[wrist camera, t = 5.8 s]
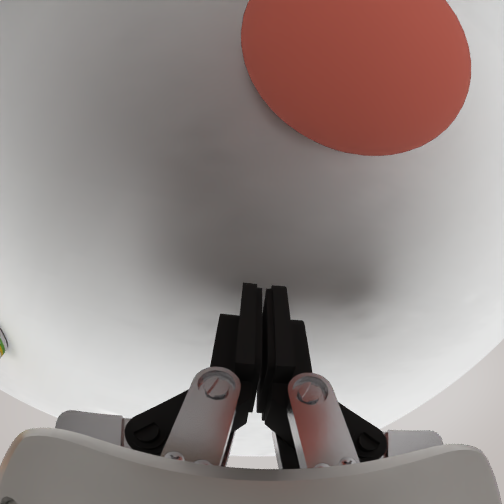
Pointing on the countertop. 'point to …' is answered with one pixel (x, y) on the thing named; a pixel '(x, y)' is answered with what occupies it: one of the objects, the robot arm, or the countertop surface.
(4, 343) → the supplement bottle
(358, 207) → the countertop surface
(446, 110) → the ball
